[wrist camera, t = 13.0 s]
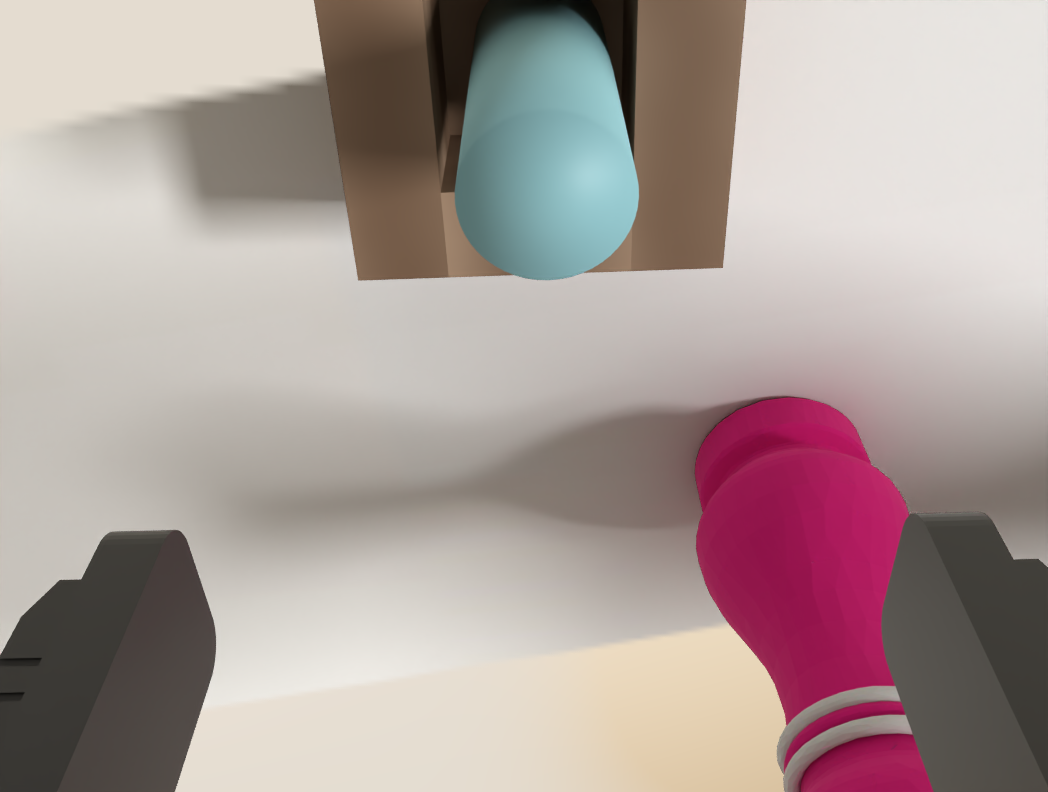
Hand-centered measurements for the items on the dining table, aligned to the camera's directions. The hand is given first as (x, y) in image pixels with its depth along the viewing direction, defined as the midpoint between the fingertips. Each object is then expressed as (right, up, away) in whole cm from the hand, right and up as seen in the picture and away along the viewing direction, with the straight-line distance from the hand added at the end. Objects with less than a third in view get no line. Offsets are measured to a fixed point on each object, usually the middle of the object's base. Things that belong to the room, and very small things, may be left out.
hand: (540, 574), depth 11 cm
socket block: (0, +12, +17) cm, 21 cm away
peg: (0, +12, +16) cm, 20 cm away
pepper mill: (+9, 0, +26) cm, 28 cm away
